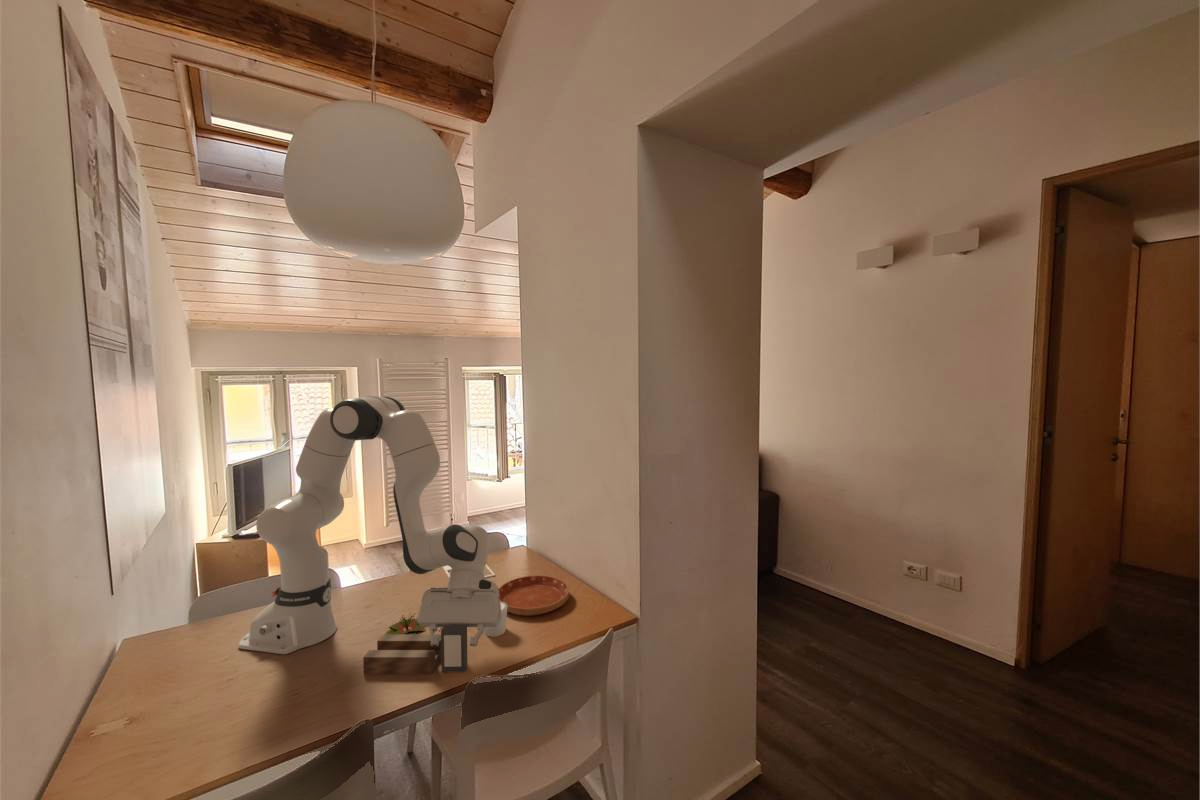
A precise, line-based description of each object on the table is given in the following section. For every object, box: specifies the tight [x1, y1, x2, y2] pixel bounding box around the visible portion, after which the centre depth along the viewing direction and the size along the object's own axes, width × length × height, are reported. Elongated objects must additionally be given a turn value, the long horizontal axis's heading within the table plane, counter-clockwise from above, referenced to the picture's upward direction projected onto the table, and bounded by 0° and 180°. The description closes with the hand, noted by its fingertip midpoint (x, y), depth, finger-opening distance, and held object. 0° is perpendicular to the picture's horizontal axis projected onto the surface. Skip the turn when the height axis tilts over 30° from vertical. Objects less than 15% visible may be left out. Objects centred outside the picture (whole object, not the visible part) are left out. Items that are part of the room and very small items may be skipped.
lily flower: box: [384, 612, 427, 635], centre depth 132 cm, size 12×12×5 cm
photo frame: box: [441, 564, 496, 579], centre depth 172 cm, size 15×1×18 cm
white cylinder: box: [484, 601, 508, 638], centre depth 131 cm, size 7×7×7 cm
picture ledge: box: [362, 633, 441, 675], centre depth 117 cm, size 16×10×4 cm, turn 90°
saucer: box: [498, 575, 570, 617], centre depth 149 cm, size 23×23×4 cm
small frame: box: [440, 626, 468, 673], centre depth 114 cm, size 6×3×10 cm, turn 90°
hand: (453, 645), depth 113 cm, fingers open, 8 cm apart
